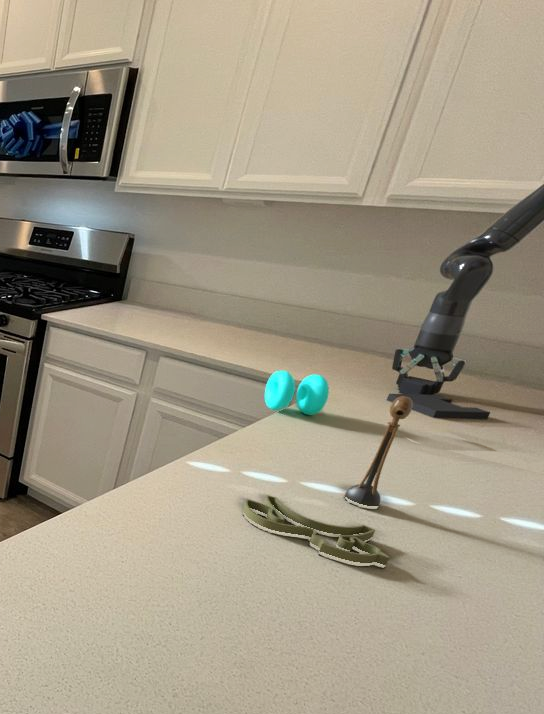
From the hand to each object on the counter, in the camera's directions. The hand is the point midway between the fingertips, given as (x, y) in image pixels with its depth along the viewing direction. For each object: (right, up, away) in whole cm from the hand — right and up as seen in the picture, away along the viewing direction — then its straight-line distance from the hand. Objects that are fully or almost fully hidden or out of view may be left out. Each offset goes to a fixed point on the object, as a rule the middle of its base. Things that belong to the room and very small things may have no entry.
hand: (416, 390), depth 160 cm
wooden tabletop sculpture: (-69, -21, -58) cm, 92 cm away
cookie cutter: (-86, -24, -68) cm, 112 cm away
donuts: (-47, -6, -14) cm, 49 cm away
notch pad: (-9, -7, -13) cm, 17 cm away
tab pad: (-1, -1, -1) cm, 2 cm away
